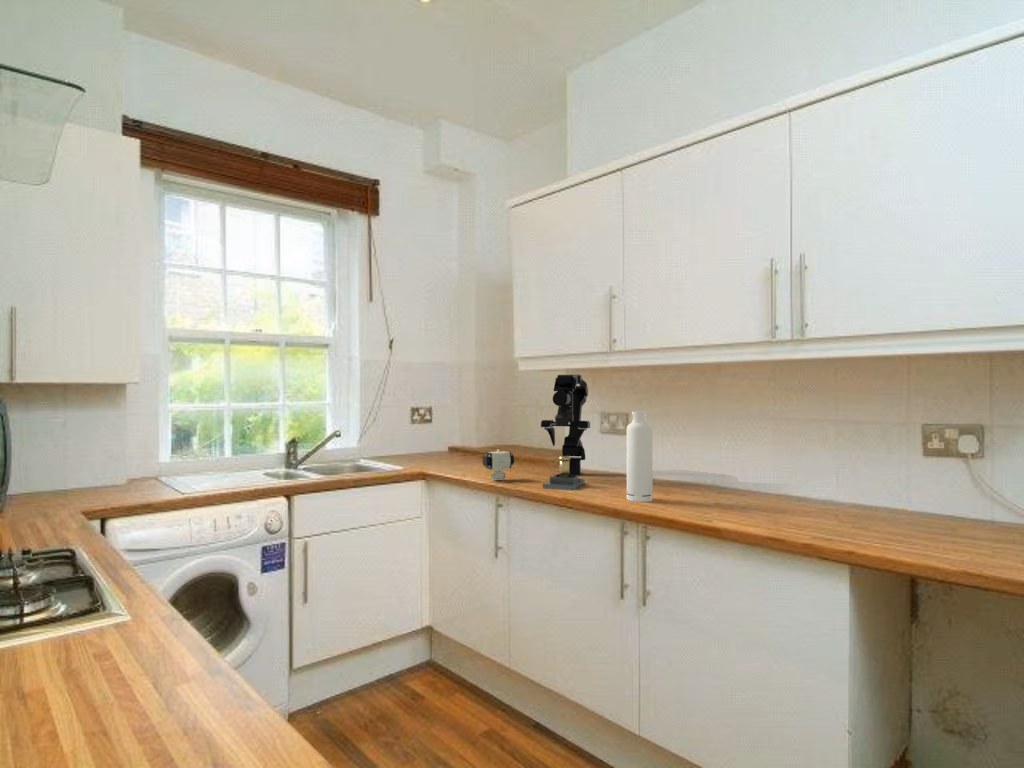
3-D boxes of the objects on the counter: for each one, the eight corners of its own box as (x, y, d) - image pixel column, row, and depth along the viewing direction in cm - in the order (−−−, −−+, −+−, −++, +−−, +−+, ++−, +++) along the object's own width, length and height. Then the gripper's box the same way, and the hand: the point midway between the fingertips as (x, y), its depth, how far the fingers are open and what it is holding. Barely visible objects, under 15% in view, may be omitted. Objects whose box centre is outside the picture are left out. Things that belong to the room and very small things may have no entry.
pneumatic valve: (482, 480, 222) (482, 449, 222) (509, 478, 227) (509, 448, 227) (487, 482, 217) (487, 450, 217) (515, 480, 222) (515, 449, 222)
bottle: (628, 496, 188) (628, 411, 188) (653, 498, 185) (653, 411, 186) (624, 500, 180) (624, 412, 180) (651, 502, 177) (651, 412, 178)
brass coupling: (560, 480, 212) (560, 456, 213) (571, 480, 211) (571, 456, 211) (557, 481, 208) (557, 457, 209) (568, 482, 207) (568, 457, 207)
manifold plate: (553, 481, 219) (553, 472, 219) (584, 483, 215) (584, 473, 215) (542, 488, 204) (542, 478, 204) (575, 489, 200) (575, 479, 200)
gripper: (537, 406, 220) (536, 446, 219) (585, 406, 214) (585, 448, 213) (544, 406, 230) (544, 445, 230) (590, 406, 225) (590, 446, 224)
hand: (565, 446), depth 224 cm, fingers open, 9 cm apart
